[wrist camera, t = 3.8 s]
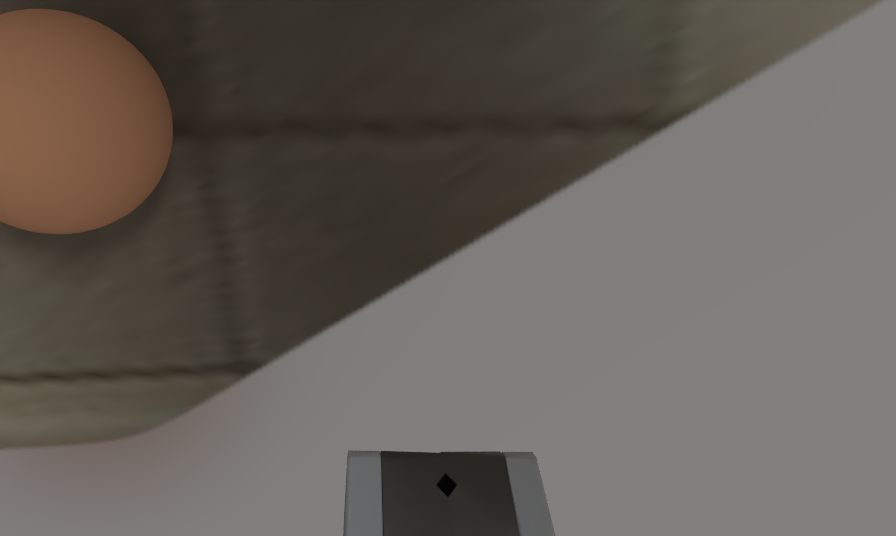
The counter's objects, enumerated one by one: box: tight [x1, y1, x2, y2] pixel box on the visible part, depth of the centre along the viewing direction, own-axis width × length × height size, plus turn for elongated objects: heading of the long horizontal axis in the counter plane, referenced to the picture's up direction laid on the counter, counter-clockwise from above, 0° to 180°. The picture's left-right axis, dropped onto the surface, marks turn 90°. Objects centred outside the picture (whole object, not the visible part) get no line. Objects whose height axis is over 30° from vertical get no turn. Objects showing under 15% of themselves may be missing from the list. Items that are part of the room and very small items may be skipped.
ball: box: [0, 8, 173, 234], centre depth 21 cm, size 6×6×6 cm
